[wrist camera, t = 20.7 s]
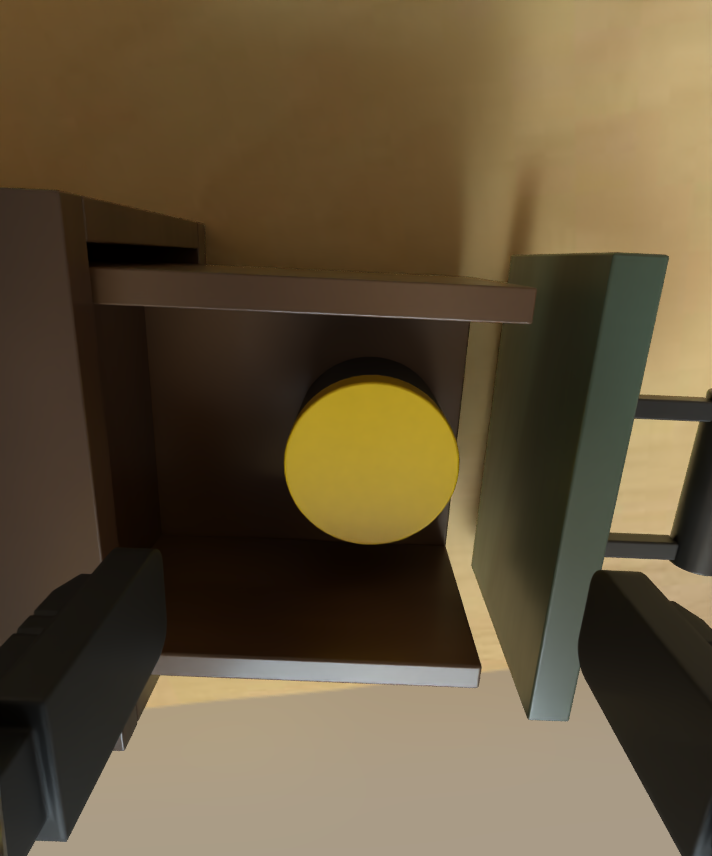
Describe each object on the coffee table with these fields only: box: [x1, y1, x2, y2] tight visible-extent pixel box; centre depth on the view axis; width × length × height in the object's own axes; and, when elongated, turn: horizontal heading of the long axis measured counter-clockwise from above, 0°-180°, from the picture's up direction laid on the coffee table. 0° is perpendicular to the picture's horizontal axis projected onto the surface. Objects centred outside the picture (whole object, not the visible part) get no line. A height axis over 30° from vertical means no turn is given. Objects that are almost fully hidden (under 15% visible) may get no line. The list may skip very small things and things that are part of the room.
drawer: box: [88, 252, 712, 721], centre depth 17 cm, size 20×13×8 cm, turn 87°
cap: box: [284, 357, 459, 545], centre depth 17 cm, size 5×5×4 cm
